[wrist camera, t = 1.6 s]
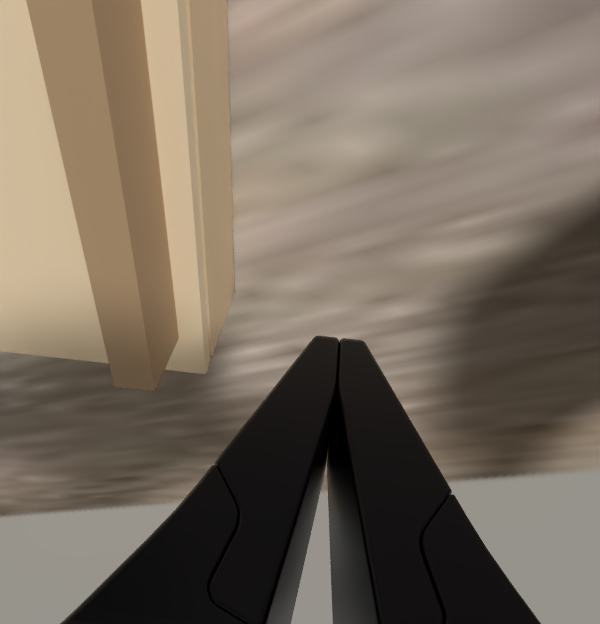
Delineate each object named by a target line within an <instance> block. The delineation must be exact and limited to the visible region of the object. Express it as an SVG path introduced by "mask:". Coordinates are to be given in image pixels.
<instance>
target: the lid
mask: <svg viewBox="0 0 600 624" xmlns="http://www.w3.org/2000/svg"><path fill="white" fill-rule="evenodd" d="M0 352H9V353H18V354H27V355H36V356H45V357H54V358H63V359H72V360H81V361H90V362H99V363H108V364H109V367H110V371H111V376H112V380H113V384H114V387H121V388H130V389H138V390H147V391H155V390H156V388H157V386H158V383H159V381H160V379H161V377H162V375H163V372H164V370H172V371H181V372H190V373H199V374H206V373H207V370H208V367H209V364H210V354H209V339H208V325H207V310H206V296H205V281H204V266H203V252H202V237H201V222H200V208H199V193H198V179H197V164H196V149H195V135H194V120H193V106H192V91H191V76H190V62H189V47H188V33H187V18H186V3H185V0H0Z"/></svg>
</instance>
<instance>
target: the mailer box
mask: <svg viewBox="0 0 600 624" xmlns="http://www.w3.org/2000/svg"><path fill="white" fill-rule="evenodd" d="M185 3H186V18H187V33H188V47H189V62H190V76H191V91H192V106H193V120H194V135H195V149H196V164H197V179H198V193H199V208H200V222H201V237H202V252H203V266H204V281H205V296H206V310H207V325H208V339H209V354H210V356H211V357H212V356H213V353H214V350H215V347H216V344H217V341H218V339H219V336H220V333H221V330H222V327H223V324H224V322H225V319H226V316H227V313H228V310H229V307H230V305H231V302H232V299H233V296H234V293H235V281H234V244H233V206H232V169H231V132H230V94H229V57H228V20H227V0H185Z"/></svg>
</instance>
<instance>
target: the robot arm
mask: <svg viewBox="0 0 600 624" xmlns="http://www.w3.org/2000/svg"><path fill="white" fill-rule="evenodd" d="M327 453H328V459H327ZM326 460H327V480H328V504H329V505H328V506H329V531H330V532H329V533H330V557H331V585H332V611H333V624H541V623H540V622H539V620H538V619H537V618H536V616H535V615H534V614H533V612H532V611H531V610H530V608H529V607H528V605H527V604H526V603H525V601H524V600H523V599H522V597H521V596H520V595H519V593H518V592H517V591H516V589H515V588H514V587H513V585H512V584H511V583H510V581H509V579H508V578H507V577H506V575H505V574H504V572H503V571H502V570H501V568H500V567H499V565H498V564H497V562H496V561H495V560H494V558H493V557H492V555H491V554H490V552H489V551H488V550H487V548H486V547H485V545H484V543H483V542H482V540H481V539H480V537H479V535H478V534H477V532H476V531H475V529H474V527H473V526H472V524H471V523H470V521H469V519H468V518H467V516H466V514H465V513H464V511H463V509H462V507H461V506H460V504H459V502H458V500H457V499H456V497H455V496H454V495H451V493H452V491H451V489H450V487H449V485H448V484H447V482H446V480H445V479H444V477H443V475H442V474H441V472H440V470H439V468H438V467H437V465H436V463H435V462H434V460H433V458H432V456H431V455H430V453H429V451H428V450H427V448H426V446H425V444H424V443H423V441H422V439H421V438H420V436H419V434H418V432H417V431H416V429H415V427H414V426H413V424H412V422H411V420H410V419H409V417H408V415H407V414H406V412H405V410H404V408H403V407H402V405H401V403H400V402H399V400H398V398H397V397H396V395H395V393H394V391H393V390H392V388H391V386H390V385H389V383H388V381H387V379H386V378H385V376H384V374H383V373H382V371H381V369H380V367H379V366H378V364H377V362H376V361H375V359H374V357H373V355H372V354H371V352H370V350H369V349H368V347H367V345H366V344H365V342H364V341H361V340H354V339H345V338H344V339H341V340H340V342H339V340H338V339H337V338H335V337H326V336H315V337H314V338H313V339H312V341H311V342H310V343H309V344H308V346H307V347H306V348H305V349H304V351H303V352H302V353H301V354H300V356H299V357H298V358H297V359H296V361H295V362H294V363H293V364H292V366H291V367H290V368H289V370H288V371H287V372H286V373H285V375H284V376H283V377H282V378H281V380H280V381H279V382H278V383H277V385H276V386H275V387H274V388H273V390H272V391H271V392H270V393H269V395H268V396H267V397H266V398H265V400H264V401H263V402H262V404H261V405H260V406H259V407H258V409H257V410H256V411H255V412H254V414H253V415H252V416H251V417H250V419H249V420H248V421H247V422H246V424H245V425H244V426H243V427H242V429H241V430H240V431H239V433H238V434H237V435H236V436H235V438H234V439H233V440H232V441H231V443H230V444H229V445H228V446H227V448H226V449H225V450H224V451H223V453H222V454H221V455H220V456H219V458H218V459H217V460H216V462H215V465H213V466H211V467H210V469H209V470H208V471H207V472H206V474H205V475H204V476H203V478H202V479H201V480H200V481H199V483H198V484H197V485H196V486H195V487H194V488H193V490H192V491H191V492H190V493H189V494H188V496H187V497H186V498H185V499H184V500H183V501H182V503H181V504H180V505H179V506H178V507H177V509H176V510H175V511H174V512H173V513H172V514H171V515H170V516H169V517H168V518H167V519H166V520H165V521H164V522H163V523H162V524H161V525H160V526H159V527H158V528H157V529H156V530H155V531H154V533H153V534H152V535H151V536H150V537H149V538H148V539H147V540H146V541H145V542H144V543H143V544H142V545H141V546H140V547H139V548H138V549H137V550H136V551H135V552H134V553H133V554H131V556H129V558H128V559H126V560H125V561H124V562H123V563H122V564H121V565H120V566H119V567H118V568H117V569H116V570H115V571H114V572H113V573H112V575H110V576H109V577H108V578H107V579H106V580H105V581H104V582H103V583H102V584H101V585H100V586H99V587H98V588H97V589H96V590H95V591H94V592H93V593H92V594H91V595H90V596H89V597H88V598H87V599H86V600H85V601H84V602H83V603H82V604H81V605H80V606H79V607H78V608H77V609H76V610H75V611H74V612H72V613H71V614H70V615H69V616H68V617H67V618H66V619H65V620H64V621H63V622H62V623H60V624H291V619H292V615H293V610H294V606H295V602H296V597H297V593H298V588H299V584H300V579H301V575H302V570H303V565H304V561H305V557H306V553H307V548H308V543H309V539H310V535H311V530H312V526H313V521H314V517H315V512H316V508H317V503H318V499H319V495H320V490H321V486H322V481H323V477H324V472H325V466H326Z"/></svg>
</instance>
